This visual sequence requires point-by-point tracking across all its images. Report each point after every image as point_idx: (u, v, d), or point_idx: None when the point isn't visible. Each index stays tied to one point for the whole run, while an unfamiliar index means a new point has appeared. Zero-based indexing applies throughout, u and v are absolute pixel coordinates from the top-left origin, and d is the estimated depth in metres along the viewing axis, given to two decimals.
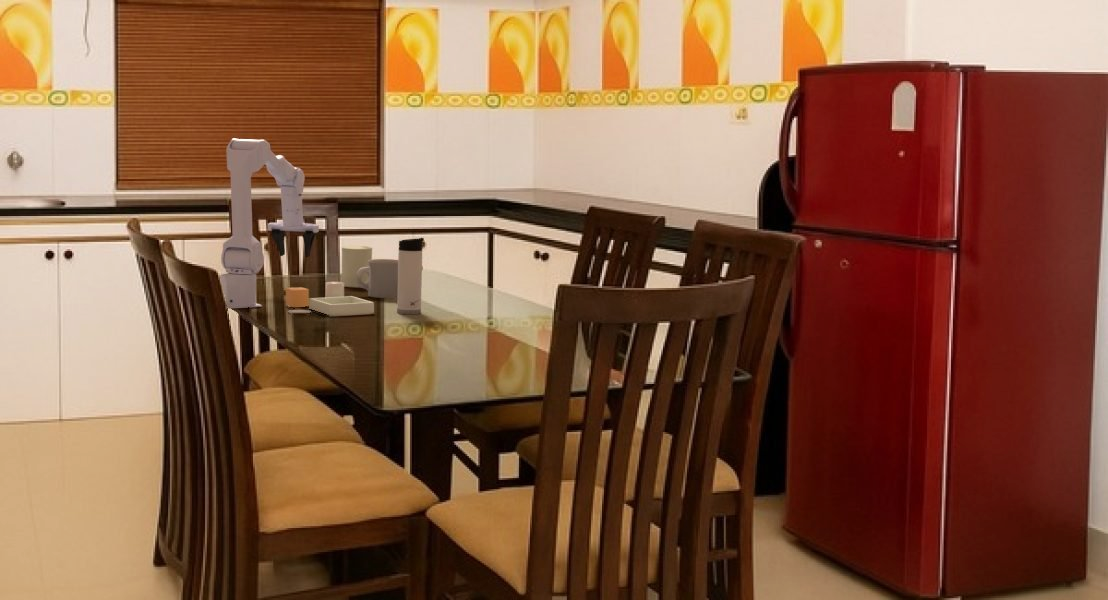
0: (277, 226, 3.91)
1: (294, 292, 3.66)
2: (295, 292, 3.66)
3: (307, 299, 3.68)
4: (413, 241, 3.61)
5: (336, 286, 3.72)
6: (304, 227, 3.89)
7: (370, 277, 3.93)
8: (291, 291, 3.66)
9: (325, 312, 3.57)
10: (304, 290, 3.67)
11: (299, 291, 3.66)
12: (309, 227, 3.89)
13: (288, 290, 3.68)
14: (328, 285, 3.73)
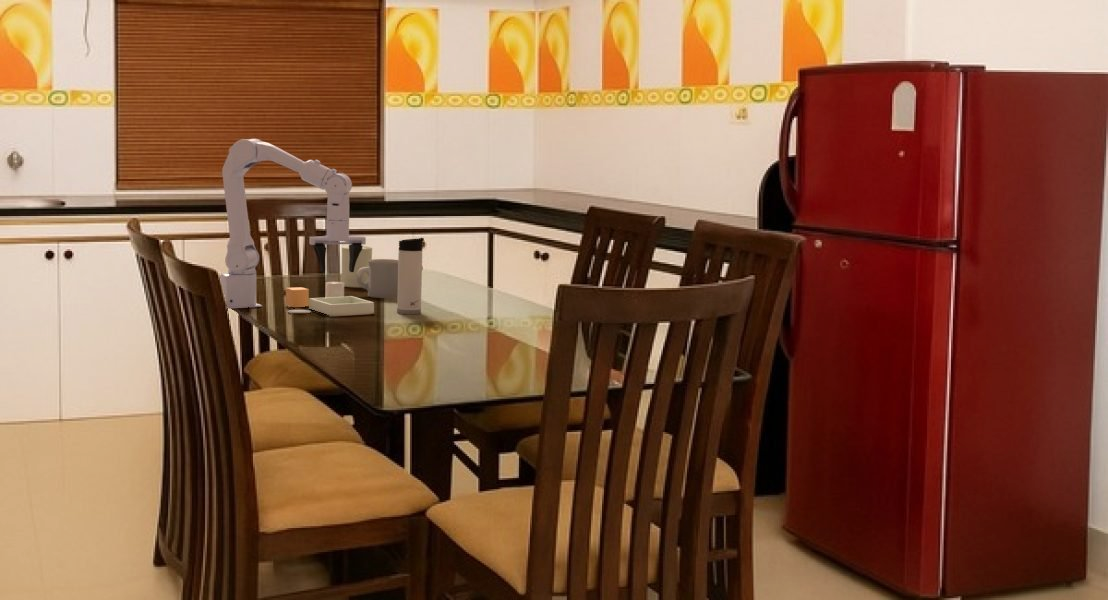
0: (324, 239, 3.58)
1: (294, 292, 3.66)
2: (295, 292, 3.66)
3: (307, 299, 3.68)
4: (413, 241, 3.61)
5: (336, 286, 3.72)
6: (354, 238, 3.61)
7: (370, 277, 3.93)
8: (291, 291, 3.66)
9: (325, 312, 3.57)
10: (304, 290, 3.67)
11: (299, 291, 3.66)
12: (359, 238, 3.62)
13: (288, 290, 3.68)
14: (328, 285, 3.73)
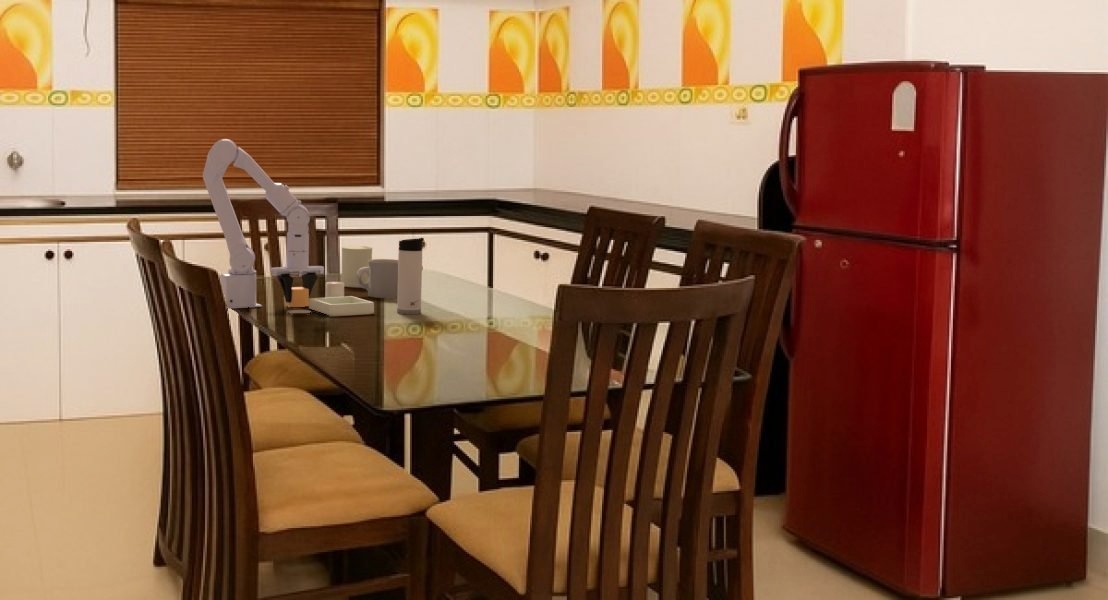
0: (286, 270, 3.64)
1: (294, 292, 3.66)
2: (295, 292, 3.66)
3: (307, 299, 3.68)
4: (413, 241, 3.61)
5: (336, 286, 3.72)
6: (314, 268, 3.69)
7: (370, 277, 3.93)
8: None
9: (325, 312, 3.57)
10: (304, 290, 3.67)
11: (299, 291, 3.66)
12: (318, 268, 3.70)
13: None
14: (328, 285, 3.73)
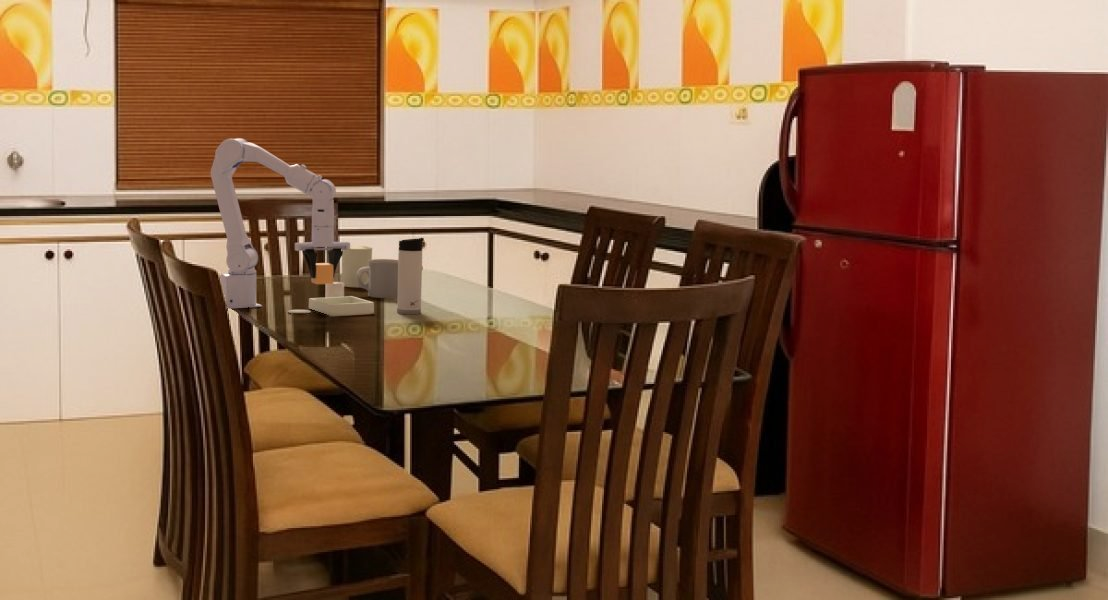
0: (310, 245, 3.60)
1: (318, 267, 3.62)
2: (319, 267, 3.62)
3: (332, 275, 3.64)
4: (413, 241, 3.61)
5: (336, 286, 3.72)
6: (339, 244, 3.64)
7: (370, 277, 3.93)
8: None
9: (325, 312, 3.57)
10: (328, 265, 3.63)
11: (323, 266, 3.62)
12: (343, 244, 3.65)
13: None
14: (328, 285, 3.73)
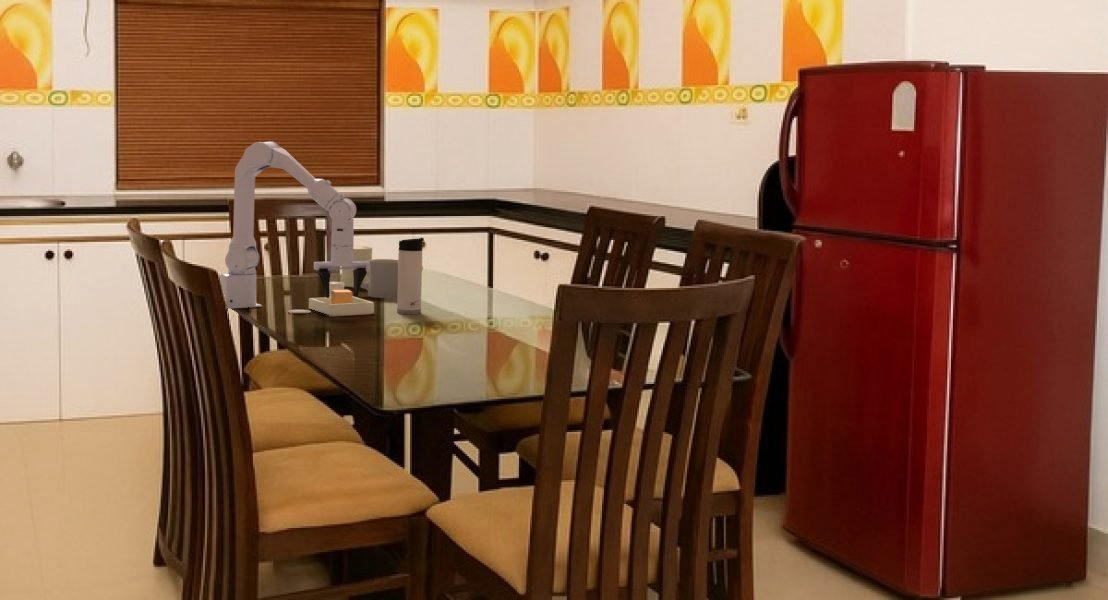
0: (328, 264, 3.58)
1: (337, 294, 3.60)
2: (338, 294, 3.60)
3: (351, 302, 3.62)
4: (413, 241, 3.61)
5: (336, 286, 3.72)
6: (358, 264, 3.62)
7: (370, 277, 3.93)
8: (334, 293, 3.61)
9: (325, 312, 3.57)
10: (347, 293, 3.61)
11: (342, 293, 3.61)
12: (363, 264, 3.63)
13: (332, 292, 3.62)
14: None
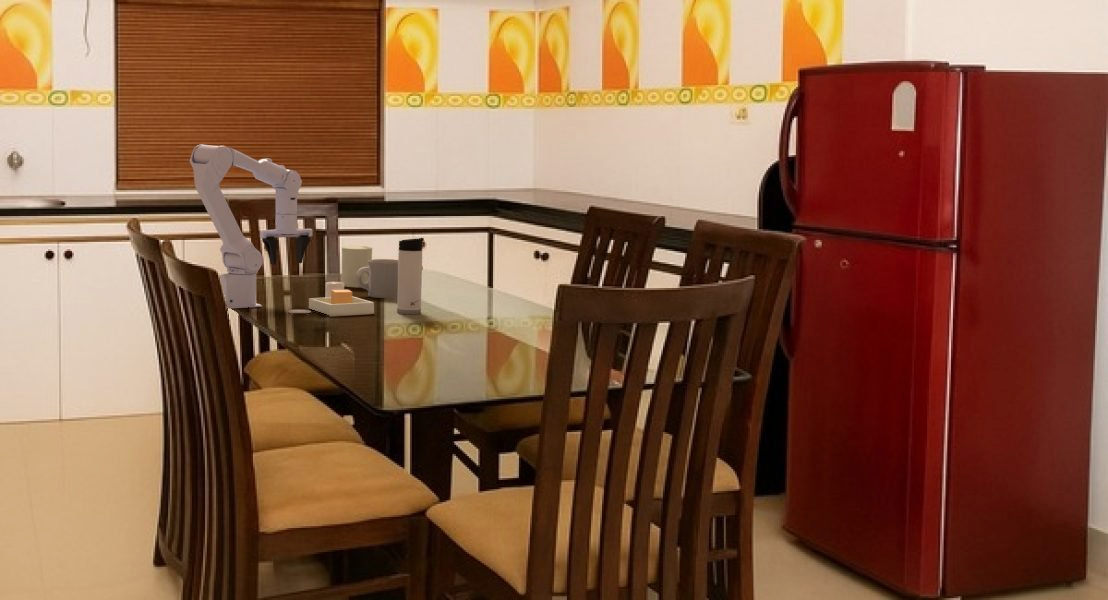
0: (275, 232, 3.71)
1: (337, 294, 3.60)
2: (338, 294, 3.60)
3: (351, 302, 3.62)
4: (413, 241, 3.61)
5: (336, 286, 3.72)
6: (302, 231, 3.76)
7: (370, 277, 3.93)
8: (334, 293, 3.61)
9: (325, 312, 3.57)
10: (347, 293, 3.61)
11: (342, 293, 3.61)
12: (306, 231, 3.77)
13: (332, 292, 3.62)
14: (328, 285, 3.73)
